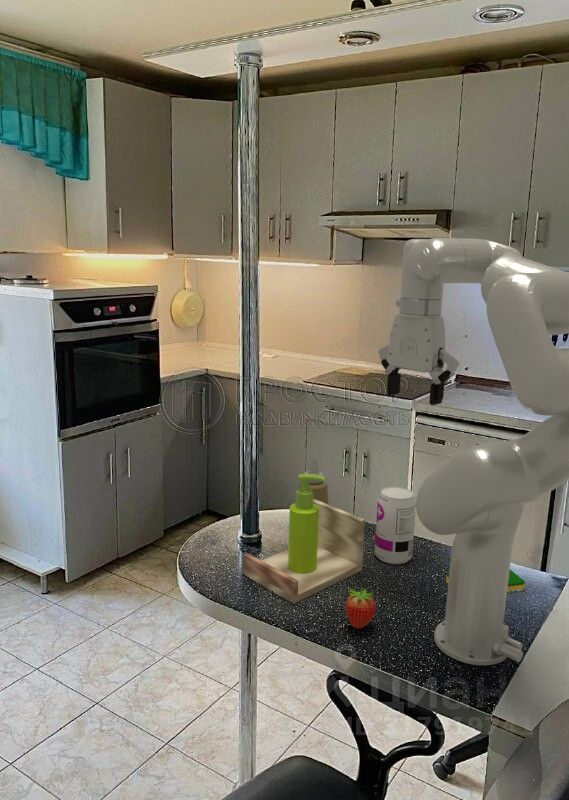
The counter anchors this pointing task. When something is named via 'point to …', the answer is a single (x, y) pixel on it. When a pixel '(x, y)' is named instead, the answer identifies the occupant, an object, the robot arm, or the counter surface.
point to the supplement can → (395, 525)
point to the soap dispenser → (304, 528)
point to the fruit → (360, 608)
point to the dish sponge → (513, 581)
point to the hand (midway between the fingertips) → (413, 399)
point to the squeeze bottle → (317, 483)
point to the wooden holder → (334, 557)
